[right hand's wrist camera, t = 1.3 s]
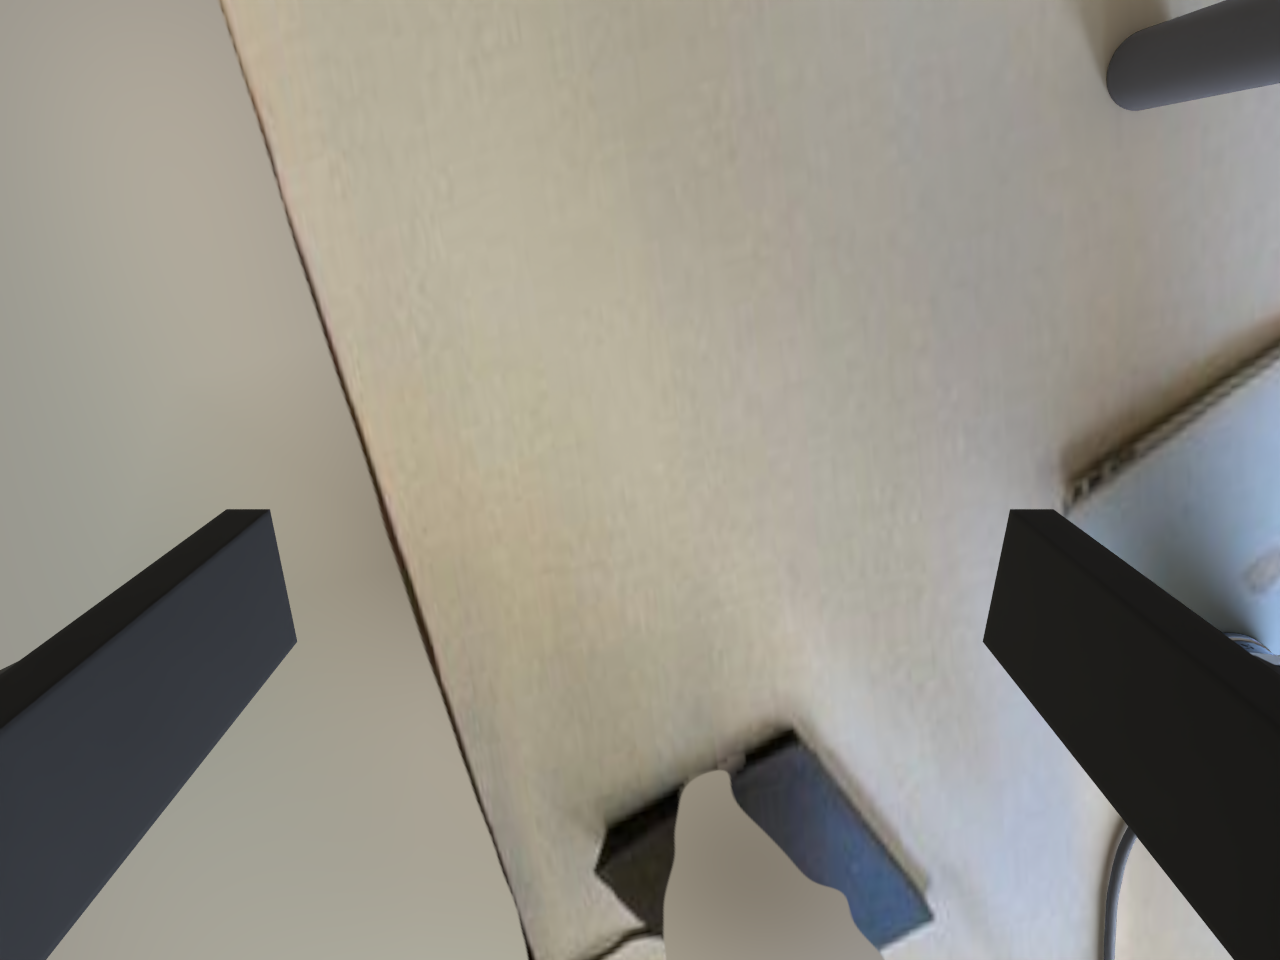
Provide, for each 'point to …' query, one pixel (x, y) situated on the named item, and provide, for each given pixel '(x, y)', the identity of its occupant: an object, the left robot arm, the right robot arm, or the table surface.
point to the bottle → (1198, 55)
